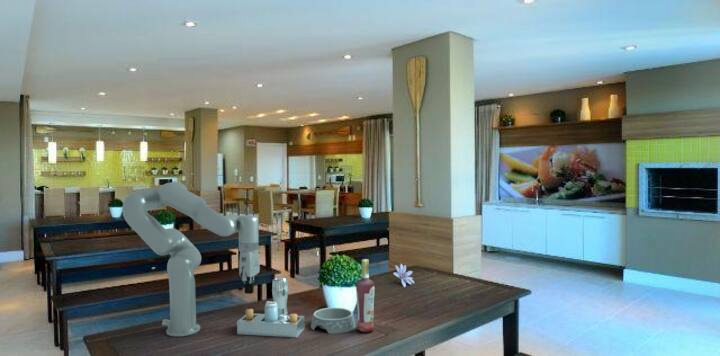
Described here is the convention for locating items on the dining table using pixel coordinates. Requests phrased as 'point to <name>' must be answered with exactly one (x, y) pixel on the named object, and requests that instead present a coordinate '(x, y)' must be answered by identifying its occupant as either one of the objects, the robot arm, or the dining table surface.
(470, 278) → the dining table surface
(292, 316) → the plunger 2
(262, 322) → the housing
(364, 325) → the liquor
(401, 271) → the water lily
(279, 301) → the beer glass
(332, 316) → the dog bowl
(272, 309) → the cylinder
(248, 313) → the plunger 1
